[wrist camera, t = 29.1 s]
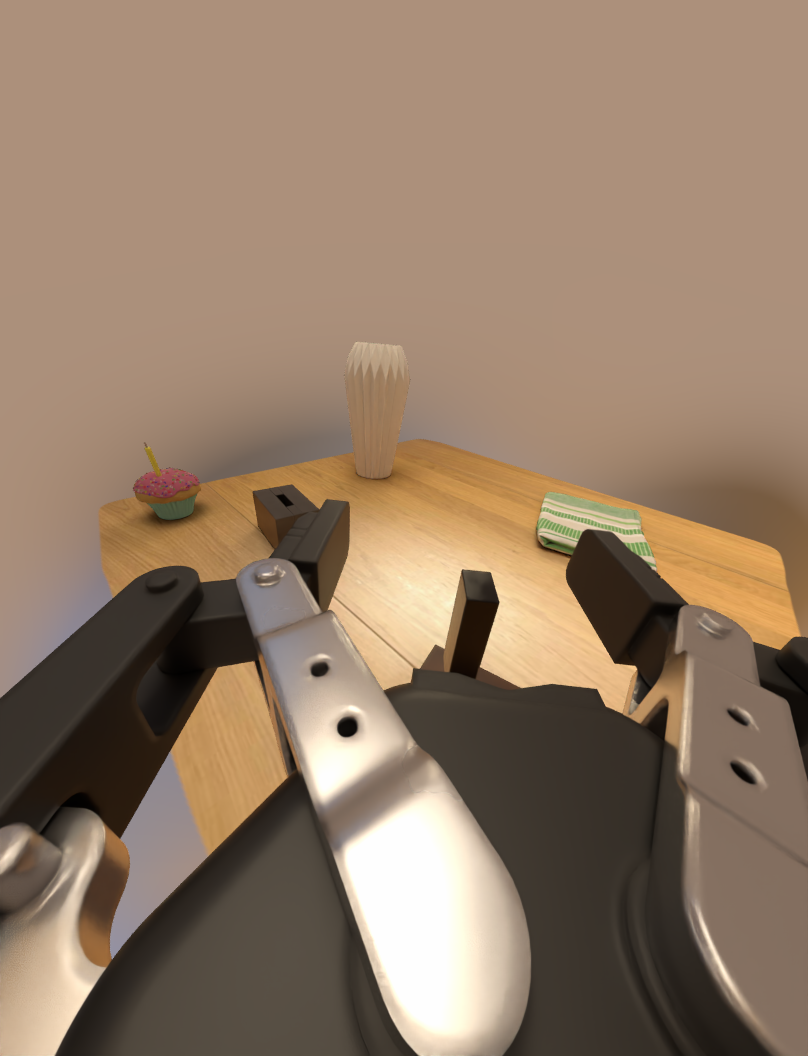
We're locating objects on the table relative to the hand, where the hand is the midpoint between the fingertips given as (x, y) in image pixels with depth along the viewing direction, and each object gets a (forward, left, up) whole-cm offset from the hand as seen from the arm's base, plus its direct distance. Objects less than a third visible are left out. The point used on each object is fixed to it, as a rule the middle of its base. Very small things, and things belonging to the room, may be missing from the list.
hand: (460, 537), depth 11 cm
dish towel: (+52, -8, -21) cm, 57 cm away
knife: (+4, 0, -20) cm, 20 cm away
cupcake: (+13, +51, -21) cm, 57 cm away
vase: (+50, +38, -21) cm, 66 cm away
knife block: (+19, +32, -21) cm, 43 cm away
